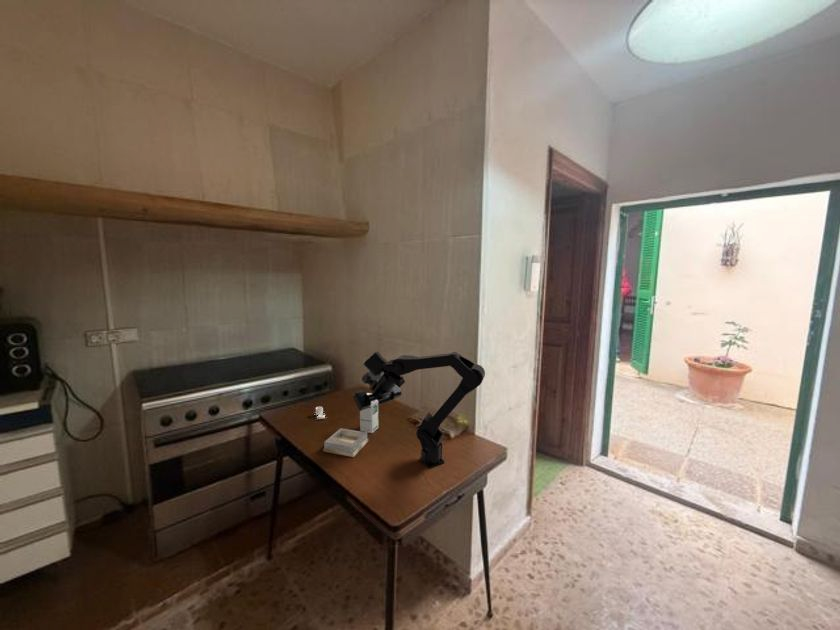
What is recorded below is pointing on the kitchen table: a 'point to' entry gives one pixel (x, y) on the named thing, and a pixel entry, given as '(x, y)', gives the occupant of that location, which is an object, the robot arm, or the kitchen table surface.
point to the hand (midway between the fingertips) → (369, 406)
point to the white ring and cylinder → (319, 413)
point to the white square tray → (346, 442)
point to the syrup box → (370, 417)
